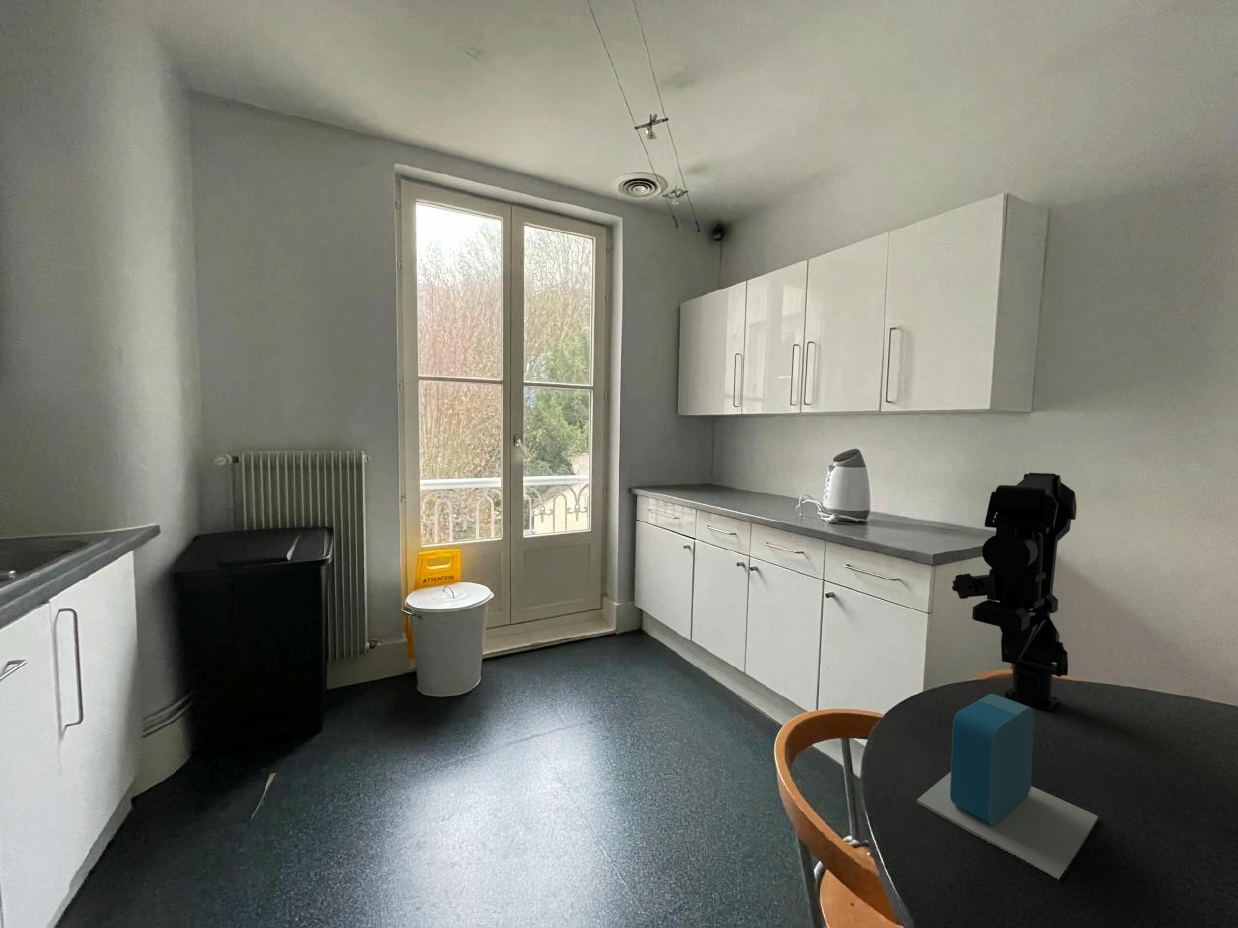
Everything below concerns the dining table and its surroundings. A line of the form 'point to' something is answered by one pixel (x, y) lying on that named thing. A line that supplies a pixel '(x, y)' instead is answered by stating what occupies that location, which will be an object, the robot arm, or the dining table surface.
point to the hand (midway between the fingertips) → (1014, 659)
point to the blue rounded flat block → (991, 757)
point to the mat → (1023, 826)
